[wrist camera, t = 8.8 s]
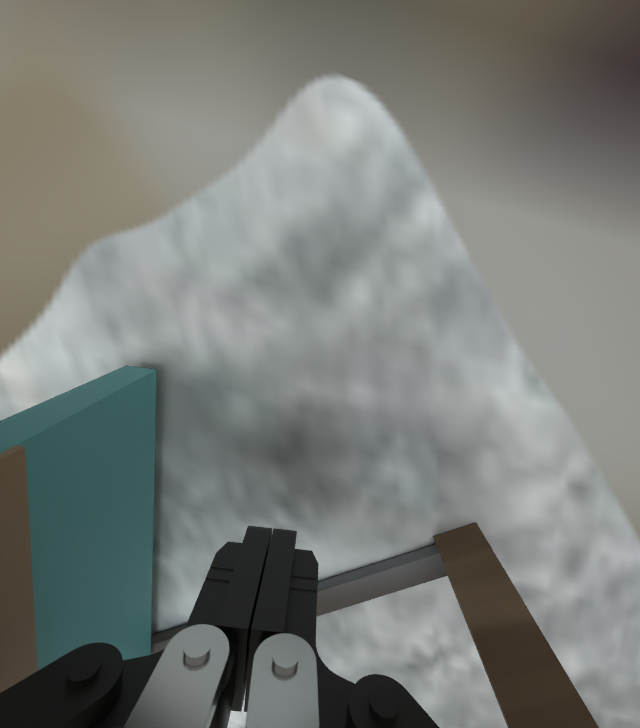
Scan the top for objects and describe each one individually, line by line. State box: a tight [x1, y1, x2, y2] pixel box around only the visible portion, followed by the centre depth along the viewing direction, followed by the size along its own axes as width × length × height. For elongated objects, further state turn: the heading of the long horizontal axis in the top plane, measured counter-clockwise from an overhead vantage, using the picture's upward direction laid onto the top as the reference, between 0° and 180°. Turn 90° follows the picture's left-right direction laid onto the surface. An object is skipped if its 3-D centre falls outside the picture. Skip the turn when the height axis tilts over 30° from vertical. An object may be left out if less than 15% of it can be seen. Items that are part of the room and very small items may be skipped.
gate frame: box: [151, 523, 599, 728], centre depth 14 cm, size 2×20×10 cm, turn 112°
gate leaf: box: [0, 366, 157, 693], centre depth 13 cm, size 2×14×8 cm, turn 174°
